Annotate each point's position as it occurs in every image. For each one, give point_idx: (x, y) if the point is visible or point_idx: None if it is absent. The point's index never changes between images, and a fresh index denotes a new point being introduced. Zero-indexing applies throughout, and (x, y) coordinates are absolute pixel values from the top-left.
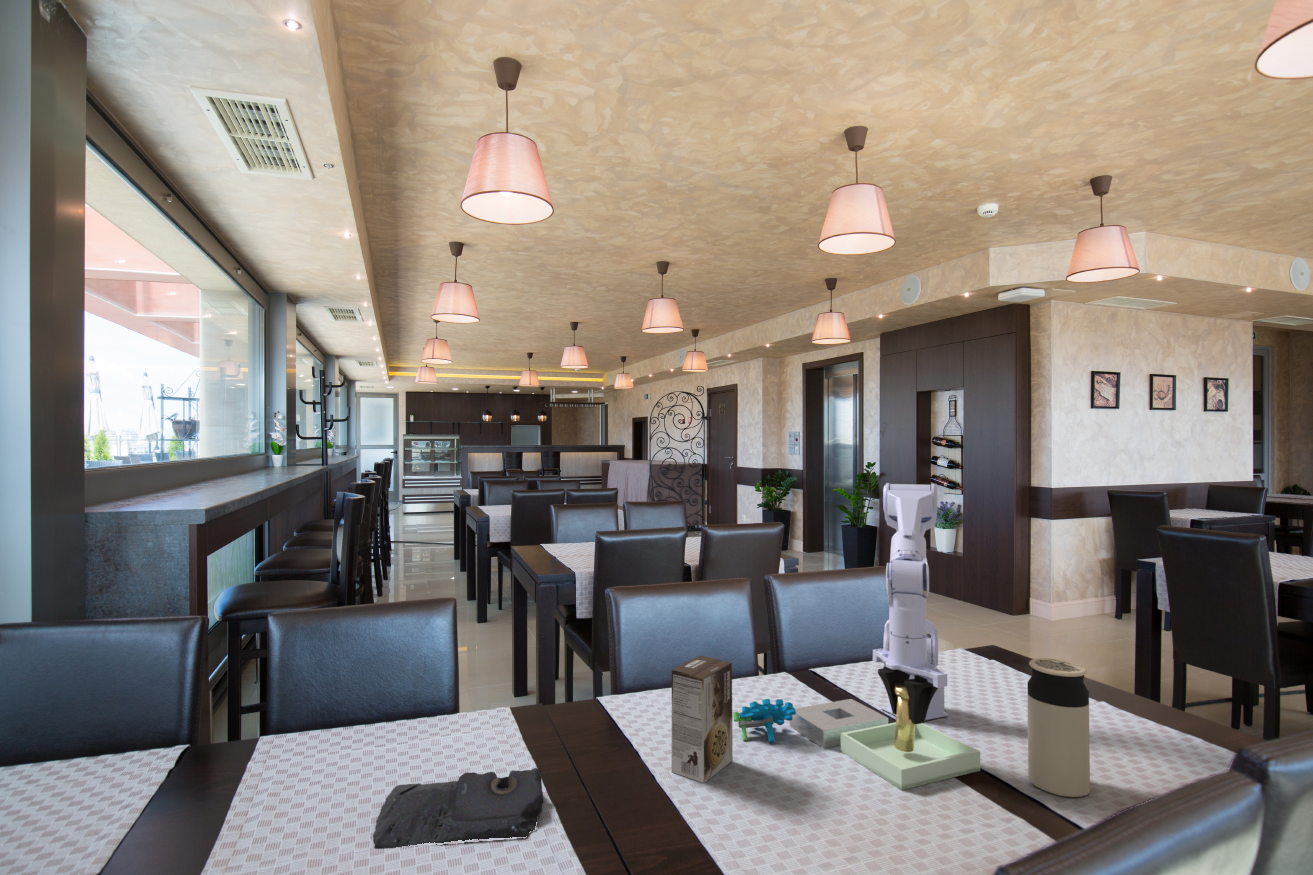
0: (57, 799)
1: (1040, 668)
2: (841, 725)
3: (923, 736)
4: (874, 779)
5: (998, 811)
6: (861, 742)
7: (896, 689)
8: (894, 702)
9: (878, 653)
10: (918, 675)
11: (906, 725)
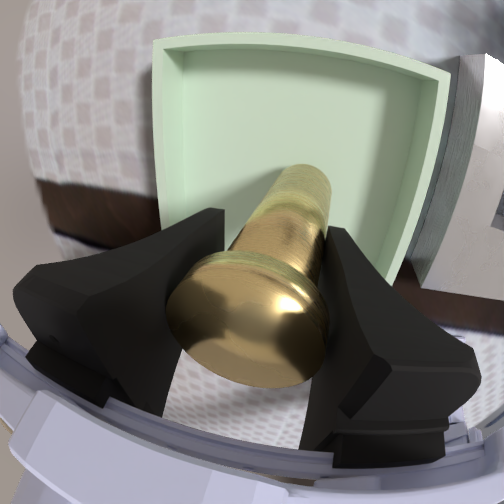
0: None
1: (10, 432)
2: (484, 132)
3: None
4: (251, 18)
5: (75, 167)
6: (414, 136)
7: (271, 282)
8: (333, 255)
9: (493, 498)
10: (89, 403)
11: (260, 203)
